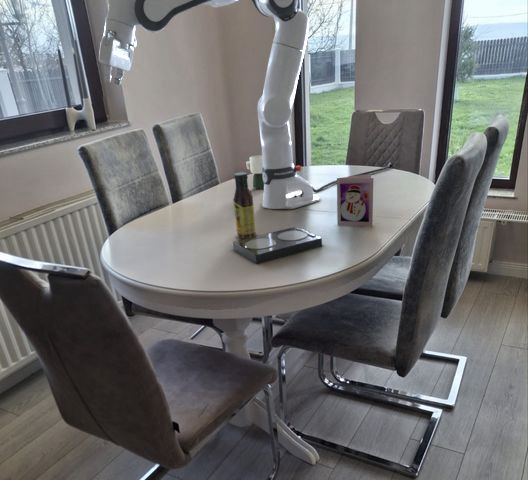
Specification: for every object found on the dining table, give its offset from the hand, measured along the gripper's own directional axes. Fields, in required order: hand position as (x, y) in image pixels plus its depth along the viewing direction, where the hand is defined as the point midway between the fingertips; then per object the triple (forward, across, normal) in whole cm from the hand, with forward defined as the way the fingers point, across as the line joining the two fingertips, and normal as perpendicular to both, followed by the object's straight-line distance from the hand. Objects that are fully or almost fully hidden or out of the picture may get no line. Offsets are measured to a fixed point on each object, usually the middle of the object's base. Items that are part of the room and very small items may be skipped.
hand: (112, 83), depth 162 cm
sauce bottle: (+32, -15, -54) cm, 65 cm away
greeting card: (+20, -8, -88) cm, 90 cm away
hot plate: (+30, -28, -65) cm, 77 cm away
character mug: (+24, +54, -52) cm, 79 cm away
